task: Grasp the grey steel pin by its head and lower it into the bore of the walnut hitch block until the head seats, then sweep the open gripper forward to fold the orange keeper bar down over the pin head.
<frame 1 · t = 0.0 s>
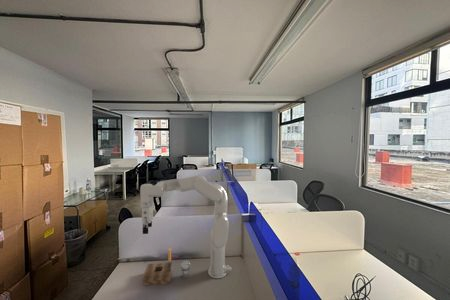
hand: (147, 230, 134), 31 cm above the table, tool pointing down, fingers open, 9 cm apart
hitch block: (158, 278, 135), on the table
keeper bar: (169, 255, 135), point 14 cm above the table, hinge at 90.0°
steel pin: (185, 276, 137), on the table
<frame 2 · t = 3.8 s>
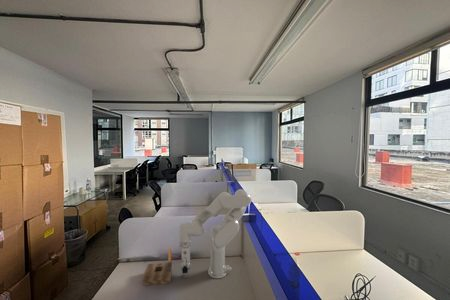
hand: (185, 269, 137), 5 cm above the table, tool pointing down, fingers closed on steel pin, 6 cm apart
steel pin: (185, 276, 137), on the table, touching gripper
everything else where it was.
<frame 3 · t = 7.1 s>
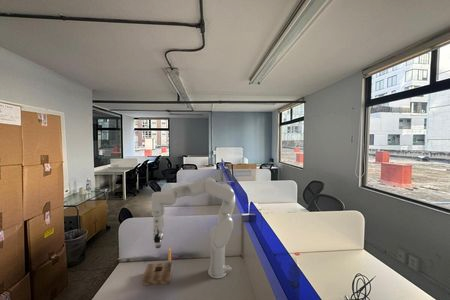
hand: (158, 239, 133), 25 cm above the table, tool pointing down, fingers closed on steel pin, 6 cm apart
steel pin: (158, 246, 133), point 21 cm above the table, touching gripper
everything else where it was.
when the fingers open (6 cm above the table, at t = 10.5 s): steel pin stays where it is, resting on hitch block.
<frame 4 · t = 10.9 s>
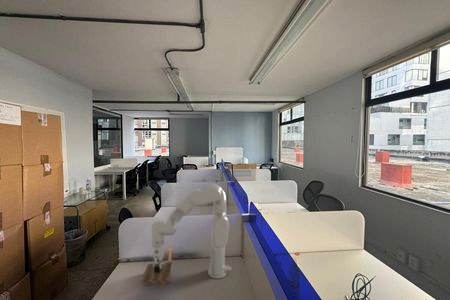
hand: (158, 267, 134), 7 cm above the table, tool pointing down, fingers open, 9 cm apart
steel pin: (158, 277, 135), point 1 cm above the table, touching hitch block
everything else where it was.
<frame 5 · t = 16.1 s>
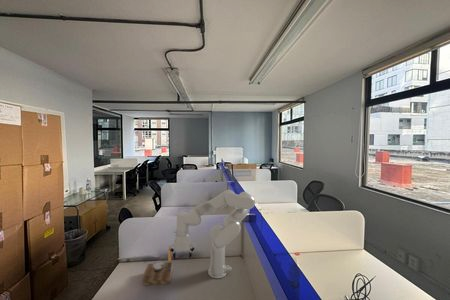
hand: (182, 257, 136), 13 cm above the table, tool pointing down, fingers open, 9 cm apart
keeper bar: (169, 255, 135), point 14 cm above the table, hinge at 90.0°, touching gripper
everything else where it was.
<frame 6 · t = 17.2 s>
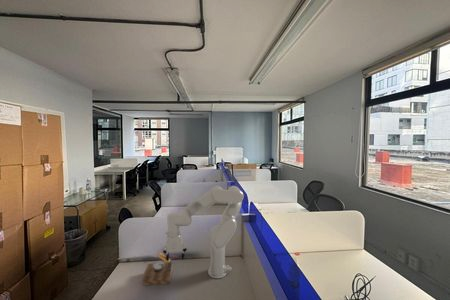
hand: (175, 259, 135), 12 cm above the table, tool pointing down, fingers open, 8 cm apart
keeper bar: (164, 258, 135), point 13 cm above the table, hinge at 38.4°, touching gripper
everything else where it was.
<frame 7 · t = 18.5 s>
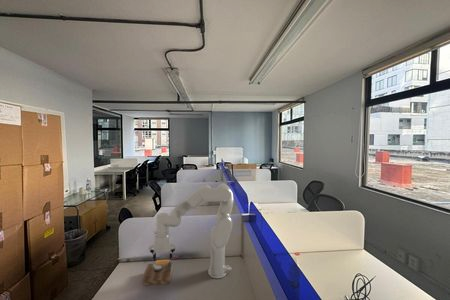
hand: (162, 259, 134), 12 cm above the table, tool pointing down, fingers open, 9 cm apart
keeper bar: (163, 262, 135), point 10 cm above the table, hinge at 0.3°
everything else where it was.
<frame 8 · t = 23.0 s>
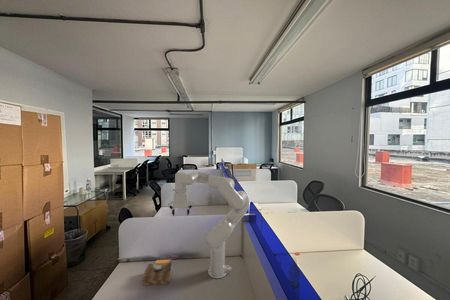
hand: (180, 215, 146), 36 cm above the table, tool pointing down, fingers open, 9 cm apart
keeper bar: (163, 262, 135), point 10 cm above the table, hinge at 0.6°
everything else where it was.
at the end: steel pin 0.0 cm off-centre on the hitch block, point 0.6 cm above the hitch block's base; keeper bar at +1° (first picture: +90°); the gripper is holding nothing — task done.
